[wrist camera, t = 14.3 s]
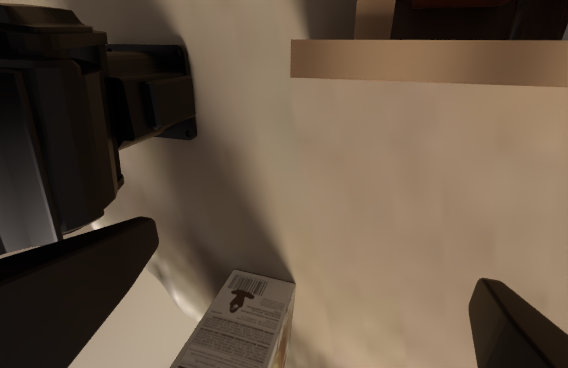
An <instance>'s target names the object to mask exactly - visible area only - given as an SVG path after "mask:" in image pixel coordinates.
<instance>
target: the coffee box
mask: <svg viewBox="0 0 568 368" xmlns="http://www.w3.org/2000/svg"><path fill="white" fill-rule="evenodd" d="M295 289H296V285H295V284H293V283H290V282H285V281H281V280H277V279H273V278H269V277H265V276H260V275H256V274H252V273H247V272H243V271H239V270H233V271H232V273H231V274H230V276H229V277H228V279H227V281H226V282H225V284H224V285H223V287H222V288H221V290H220V291H219V293H218V294H217V296H216V297H215V299H214V300H213V302H212V304H211V305H210V307H209V308H208V310H207V311H206V313H205V315H204V316H203V318H202V319H201V321H200V322H199V324H198V325H197V327H196V328H195V330H194V332H193V333H192V335H191V336H190V338H189V339H188V341H187V342H186V343H185V345H184V347H183V348H182V350H181V351H180V353H179V354H178V356H177V357H176V359H175V360H174V362H173V364H172V365H171V367H170V368H284V367H285V364H286V360H287V356H288V352H289V346H290V337H291V327H292V317H293V308H294V298H295Z"/></svg>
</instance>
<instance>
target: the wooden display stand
mask: <svg viewBox="0 0 568 368" xmlns="http://www.w3.org/2000/svg"><path fill="white" fill-rule="evenodd" d="M395 2H396V0H357V7H356V17H355V27H354V38H353V40H291V73H290V77H294V78H322V79H350V80H378V81H406V82H434V83H462V84H490V85H518V86H545V87H568V41H557V40H390V36H391V29H392V22H393V15H394V9H395Z"/></svg>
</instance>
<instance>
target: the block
mask: <svg viewBox="0 0 568 368" xmlns="http://www.w3.org/2000/svg"><path fill="white" fill-rule="evenodd" d="M511 1H514V0H412V5H411V9H416V8H453V7H490V6H499V5H502V4H505V3H508V2H511Z"/></svg>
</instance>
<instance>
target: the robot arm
mask: <svg viewBox="0 0 568 368" xmlns="http://www.w3.org/2000/svg"><path fill="white" fill-rule="evenodd" d="M105 44H108V43H107V34H106V32H101V31H96V30H93V28H92V27H91V26H86V25H84V24H82V23H81V22H80V20H79V19H78V18H77V17H76V15H75V14H74V13H73V11H72V10H66V9H60V8H51V7H43V6H34V5H25V4H7V3H0V255H2V254H5V253H9V252H13V251H17V250H21V249H25V248H30V247H35V246H41V247H38V248H34V249H31V250H28V251H25V252H21V253H18V254H14V255H12V256H8V257H5V258H2V259H0V368H68V366H69V365H70V364H71V363H72V361H73V360H74V359H75V358H76V356H77V355H78V354H79V353H80V351H81V350H82V349H83V348H84V346H85V345H86V344H87V343H88V341H89V340H90V339H91V337H92V336H93V335H94V334H95V332H96V331H97V330H98V329H99V328H100V326H101V325H102V324H103V322H104V321H105V320H106V319H107V317H108V316H109V315H110V314H111V312H112V311H113V310H114V309H115V307H116V306H117V305H118V304H119V302H120V301H121V300H122V299H123V297H124V296H125V295H126V294H127V292H128V291H129V290H130V288H131V287H132V285H133V284H134V282H135V281H136V279H137V278H138V276H139V275H140V273H141V272H142V270H143V269H144V267H145V266H146V264H147V263H148V261H149V260H150V258H151V257H152V255H153V254H154V252H155V251H156V249H157V247H158V244H159V238H158V233H157V228H156V223H155V221H154V220H153V219H152V218H148V217H142V216H141V217H136V218H133V219H130V220H126V221H123V222H120V223H117V224H113V225H110V226H107V227H103V228H100V229H97V230H93V231H91V232H87V233H84V234H81V235H77V236H74V237H70V238H67V239H63V235H66V234H69V233H72V232H74V231H76V230H79V229H81V228H82V227H84V226H86V225H89V224H91V223H92V222H94V221H96V220H98V219H99V218H101V217H102V216H103V215H104V209H105V208H106V207H107V206H108V205H109V204H110V203H111V202H112V201H113V200H114V199H115V198H116V195H117V192H118V190H119V189H120V188H121V186H122V185H123V184H124V177H123V175H122V174H121V168H120V160H119V150H121V149H124V148H126V147H129V146H131V145H134V144H136V143H139V142H141V141H144V140H146V139H149V138H151V137H163V138H173V139H183V140H192V139H194V138H195V137H196V136H197V129H196V120H195V114H196V111H195V103H194V95H193V86H192V79H191V78H190V71H189V63H188V54H187V50H186V49H185V47H184V46H182V45H127V44H108V45H105ZM178 50H180V52H181V56H179V55H178ZM112 51H113V52H112ZM188 131H190V132H191V135H190V134H189V133H188ZM43 245H44V246H43ZM469 317H470V323H471V329H472V336H473V342H474V348H475V354H476V360H477V366H478V368H568V334H566V333H565V332H564V331H563V330H561V329H560V328H559V327H558V326H556V325H555V324H554V323H553V322H551V321H550V320H549V319H548V318H546V317H545V316H544V315H543V314H541V313H540V312H539V311H538V310H536V309H535V308H534V307H533V306H531V305H530V304H529V303H528V302H526V301H525V300H524V299H523V298H521V297H520V296H519V295H518V294H516V293H515V292H514V291H513V290H511V289H510V288H509V287H508V286H506V285H505V284H504V283H503V282H501V281H498V280H493V279H488V278H481V279H479V280H478V281H477V284H476V286H475V289H474V292H473V294H472V297H471V300H470V302H469Z"/></svg>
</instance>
